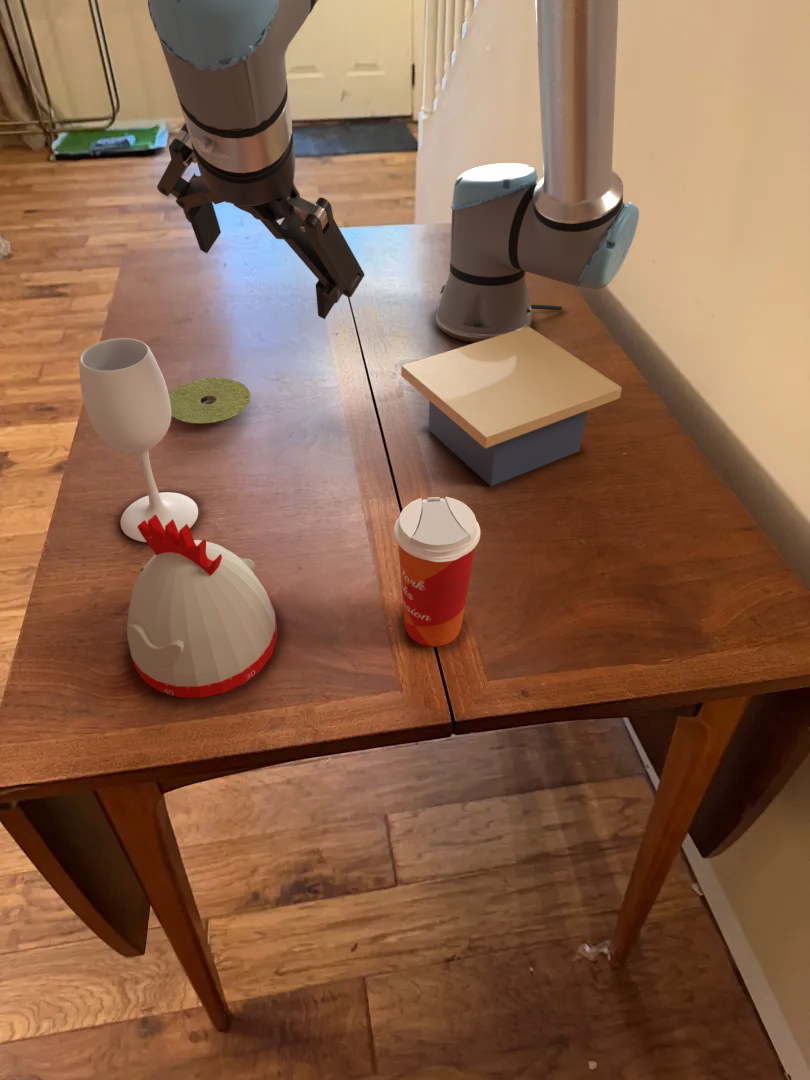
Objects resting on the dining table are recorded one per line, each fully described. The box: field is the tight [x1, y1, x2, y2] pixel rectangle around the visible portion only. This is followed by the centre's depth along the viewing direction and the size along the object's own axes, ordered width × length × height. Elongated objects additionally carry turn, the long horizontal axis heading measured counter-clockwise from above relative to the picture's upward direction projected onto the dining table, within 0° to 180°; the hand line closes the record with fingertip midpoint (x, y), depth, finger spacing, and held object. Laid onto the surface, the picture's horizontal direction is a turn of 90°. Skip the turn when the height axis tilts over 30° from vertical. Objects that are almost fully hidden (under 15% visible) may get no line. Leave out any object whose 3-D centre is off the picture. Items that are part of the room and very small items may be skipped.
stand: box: [400, 327, 623, 487], centre depth 98 cm, size 20×18×10 cm
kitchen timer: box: [126, 515, 278, 699], centre depth 71 cm, size 14×14×15 cm
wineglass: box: [78, 337, 199, 543], centre depth 82 cm, size 9×9×21 cm
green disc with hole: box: [169, 377, 252, 424], centre depth 105 cm, size 11×11×2 cm
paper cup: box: [393, 496, 481, 648], centre depth 73 cm, size 8×8×14 cm
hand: (269, 274), depth 78 cm, fingers open, 13 cm apart
